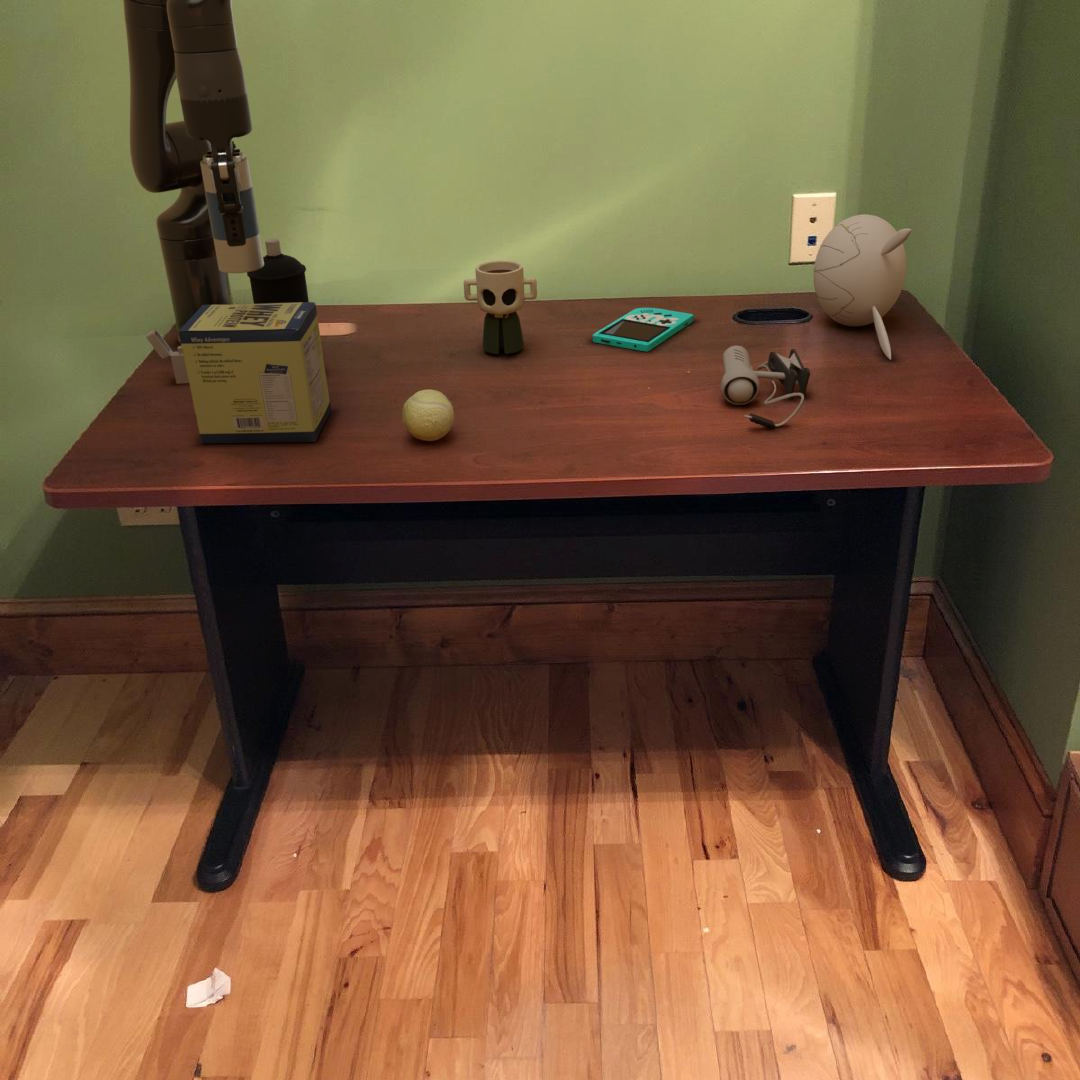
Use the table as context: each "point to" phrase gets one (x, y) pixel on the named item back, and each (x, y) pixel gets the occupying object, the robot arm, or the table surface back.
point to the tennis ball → (428, 415)
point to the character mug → (501, 303)
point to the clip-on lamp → (744, 382)
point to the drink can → (251, 252)
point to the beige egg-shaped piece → (861, 272)
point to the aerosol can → (278, 278)
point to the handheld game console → (643, 328)
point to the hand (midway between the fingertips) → (237, 238)
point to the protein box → (256, 372)
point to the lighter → (166, 351)
